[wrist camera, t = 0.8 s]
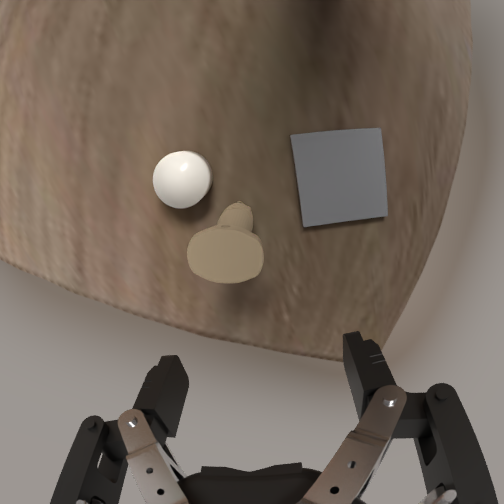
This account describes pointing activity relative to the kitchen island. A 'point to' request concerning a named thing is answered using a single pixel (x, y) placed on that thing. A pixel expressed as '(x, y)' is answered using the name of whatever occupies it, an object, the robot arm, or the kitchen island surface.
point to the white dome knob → (182, 178)
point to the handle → (227, 248)
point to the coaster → (340, 175)
